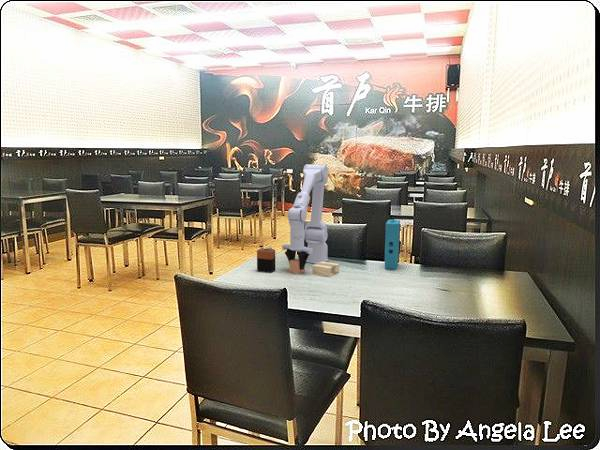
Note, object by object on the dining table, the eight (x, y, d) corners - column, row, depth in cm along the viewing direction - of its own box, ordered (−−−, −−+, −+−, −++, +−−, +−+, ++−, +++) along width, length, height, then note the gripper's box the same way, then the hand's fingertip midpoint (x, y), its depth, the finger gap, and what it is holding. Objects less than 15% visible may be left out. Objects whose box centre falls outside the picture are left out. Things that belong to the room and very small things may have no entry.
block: (387, 263, 200) (388, 219, 196) (398, 264, 198) (400, 220, 195) (383, 270, 188) (385, 223, 185) (395, 271, 187) (397, 224, 184)
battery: (271, 273, 183) (271, 249, 182) (256, 271, 186) (256, 248, 184) (275, 270, 187) (275, 247, 186) (261, 268, 190) (261, 246, 188)
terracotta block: (296, 269, 189) (296, 258, 188) (304, 271, 186) (304, 259, 185) (289, 271, 185) (289, 260, 184) (298, 273, 182) (298, 261, 182)
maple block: (322, 270, 188) (322, 261, 188) (338, 273, 184) (339, 264, 183) (312, 274, 182) (312, 265, 181) (328, 277, 177) (329, 268, 177)
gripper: (277, 235, 184) (277, 267, 186) (305, 239, 176) (305, 273, 178) (288, 233, 190) (288, 264, 192) (315, 237, 181) (315, 269, 183)
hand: (297, 268), depth 185 cm, fingers closed on terracotta block, 4 cm apart
